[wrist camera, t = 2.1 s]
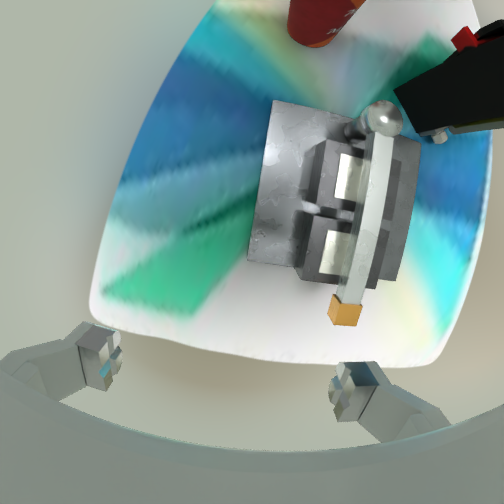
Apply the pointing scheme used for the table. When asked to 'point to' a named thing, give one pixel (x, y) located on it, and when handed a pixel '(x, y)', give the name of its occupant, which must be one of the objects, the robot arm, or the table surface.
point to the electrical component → (460, 87)
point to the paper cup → (319, 19)
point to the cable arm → (366, 210)
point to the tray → (295, 182)
